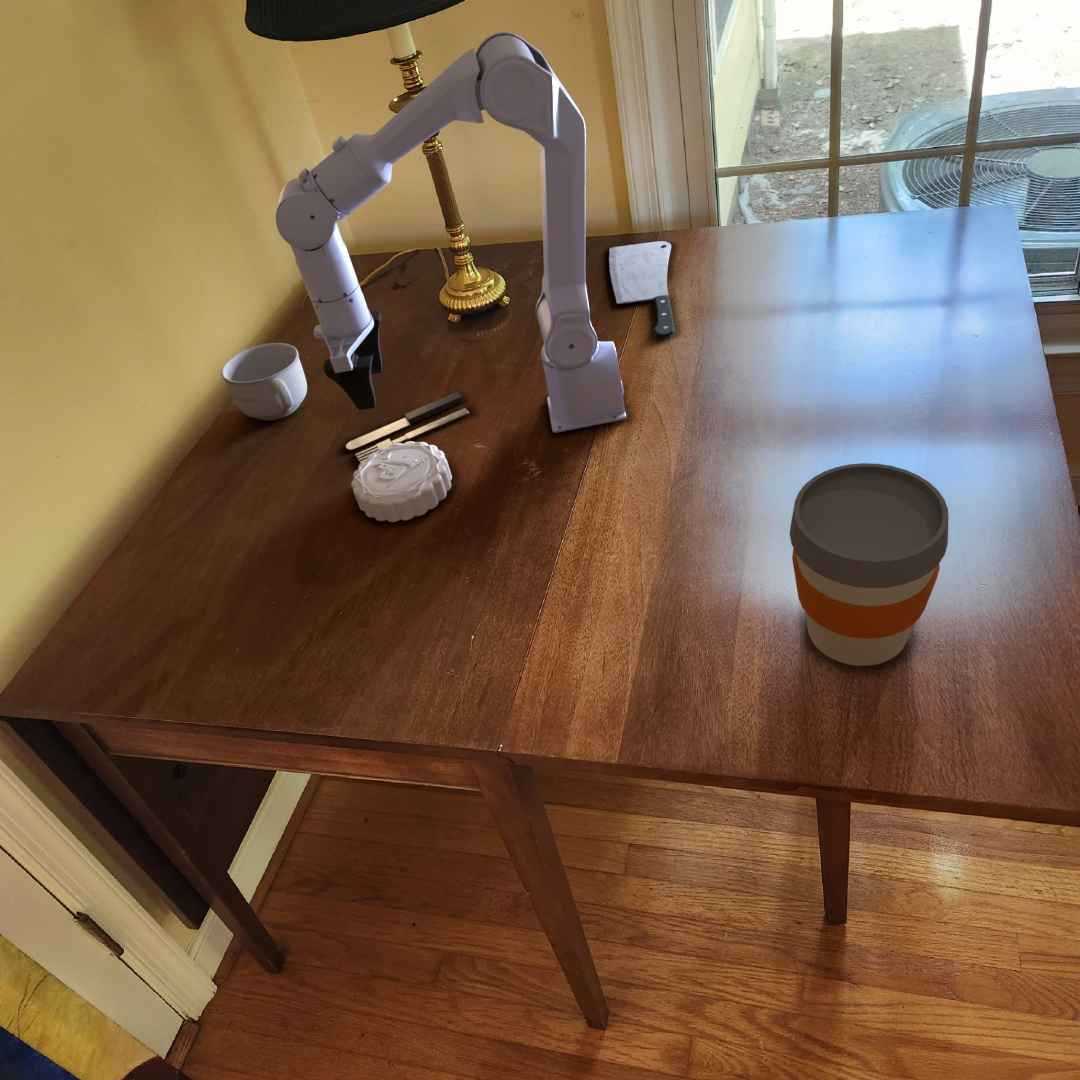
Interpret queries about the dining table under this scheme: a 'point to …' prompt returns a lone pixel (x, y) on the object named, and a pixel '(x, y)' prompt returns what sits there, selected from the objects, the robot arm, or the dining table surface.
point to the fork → (412, 434)
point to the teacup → (266, 380)
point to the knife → (406, 420)
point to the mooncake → (401, 481)
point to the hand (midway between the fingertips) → (370, 389)
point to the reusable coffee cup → (866, 558)
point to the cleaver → (643, 279)
